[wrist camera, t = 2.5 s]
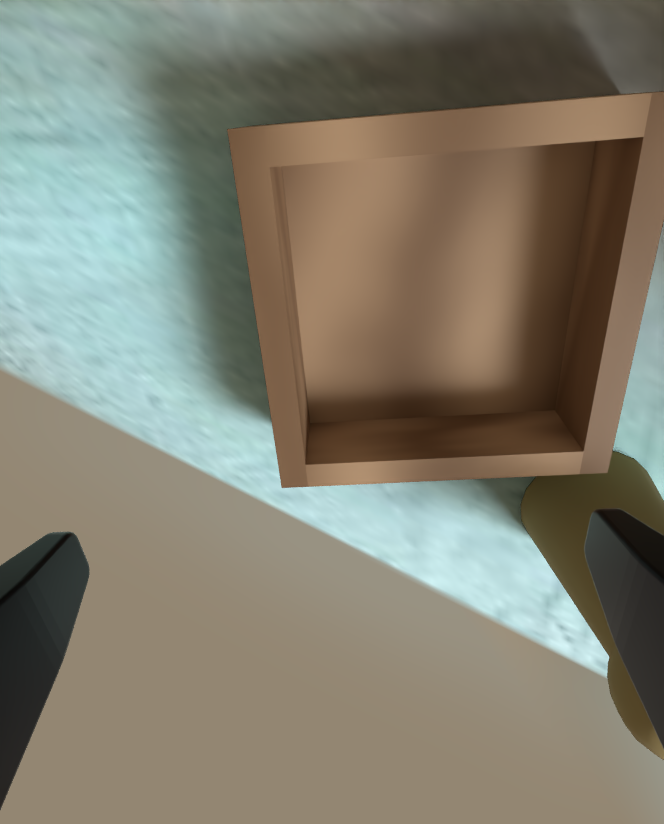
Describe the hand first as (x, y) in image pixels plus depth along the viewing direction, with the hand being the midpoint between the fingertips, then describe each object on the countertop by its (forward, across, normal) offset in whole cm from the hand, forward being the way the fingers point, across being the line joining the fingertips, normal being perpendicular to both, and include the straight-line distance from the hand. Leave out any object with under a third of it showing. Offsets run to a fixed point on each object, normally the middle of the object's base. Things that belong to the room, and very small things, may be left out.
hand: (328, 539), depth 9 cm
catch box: (+13, -4, 0) cm, 13 cm away
